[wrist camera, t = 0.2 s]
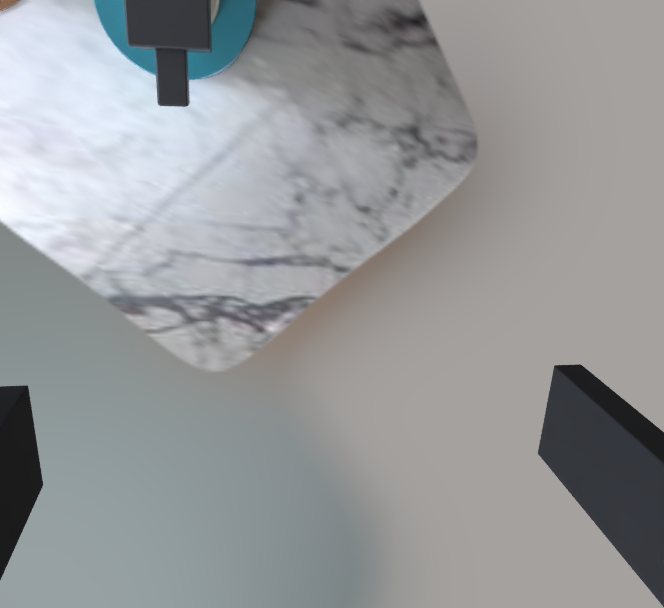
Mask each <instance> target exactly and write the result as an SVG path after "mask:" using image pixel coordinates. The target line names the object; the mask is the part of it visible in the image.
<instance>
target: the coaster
mask: <svg viewBox="0 0 664 608" xmlns="http://www.w3.org/2000/svg"><path fill="white" fill-rule="evenodd" d="M19 1H20V0H0V11H3V10H5V9H7V8H9V7H11V6H13V5H14V4H16V3H17V2H19Z"/></svg>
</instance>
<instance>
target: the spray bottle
mask: <svg viewBox="0 0 664 608" xmlns="http://www.w3.org/2000/svg"><path fill="white" fill-rule="evenodd" d="M256 1H257V0H94V4H95V8H96V11H97V14H98V17H99V19H100V22H101V24H102V26H103V28H104V30H105V32H106V34H107V35H108V37H109V38H110V40H111V41H112V43H113V44H114V45H115V46H116V48H117V49H118V50H119V51H120V52H121V53H122V54H123V55H124V56H125V57H126V58H127V59H129V60H130V61H131V62H132V63H134V64H135V65H137V66H138V67H139V68H141V69H143V70H145V71H147V72H149V73H151V74H154V75H156V81H157V98H158V105H160V106H183V107H186V106H188V105H189V80H195V79H202V78H208V77H211V76H214V75H216V74H219V73H221V72H222V71H224V70H225V69H227V68H228V67H229V66H230V65H231V64H232V63H233V62H234V61H235V60H236V59H237V57H238V56H239V54H240V53H241V51H242V49H243V47H244V46H245V44H246V42H247V40H248V38H249V35H250V33H251V30H252V27H253V24H254V19H255V14H256Z"/></svg>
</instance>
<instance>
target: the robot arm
mask: <svg viewBox="0 0 664 608" xmlns="http://www.w3.org/2000/svg"><path fill="white" fill-rule="evenodd" d="M538 454H539V455H540V456H541V458H542V459H543V460H544V461H545V463H546V464H547V465H548V466H549V468H550V469H551V470H552V471H553V472H554V474H555V475H556V476H557V477H558V479H559V480H560V481H561V482H562V483H563V485H564V486H565V487H566V488H567V489H568V491H569V492H570V493H571V494H572V496H573V497H574V498H575V499H576V501H577V502H578V503H579V504H580V505H581V507H582V508H583V509H584V510H585V511H586V513H587V514H588V515H589V516H590V518H591V519H592V520H593V521H594V522H595V524H596V525H597V526H598V527H599V528H600V530H601V531H602V532H603V533H604V535H605V536H606V537H607V538H608V539H609V541H610V542H611V543H612V544H613V546H614V547H615V548H616V549H617V550H618V552H619V553H620V554H621V555H622V557H623V558H624V559H625V560H626V561H627V563H628V564H629V565H630V566H631V567H632V569H633V570H634V571H635V572H636V574H637V575H638V576H639V577H640V579H641V580H642V581H643V582H644V583H645V585H646V586H647V587H648V588H649V589H650V591H651V592H652V593H653V594H654V595H655V597H656V598H657V599H658V600H659V602H660V603H661V604H662V605H663V607H664V432H663V431H661V430H660V429H659V428H658V427H656V426H655V425H654V424H653V423H651V422H650V421H649V420H648V419H647V418H645V417H644V416H643V415H642V414H641V413H639V412H638V411H637V410H636V409H634V408H633V407H632V406H631V405H630V404H628V403H627V402H626V401H625V400H623V399H622V398H621V397H620V396H619V395H617V394H616V393H615V392H614V391H612V390H611V389H610V388H609V387H607V386H606V385H605V384H604V383H603V382H601V381H600V380H599V379H598V378H597V377H595V376H594V375H593V374H592V373H591V372H589V371H588V370H587V369H585V368H584V367H583V366H582V365H557V366H554V371H553V376H552V381H551V387H550V392H549V397H548V402H547V408H546V413H545V418H544V424H543V429H542V434H541V440H540V445H539V450H538ZM42 486H43V481H42V475H41V468H40V462H39V455H38V449H37V442H36V435H35V429H34V422H33V416H32V409H31V403H30V397H29V390H28V386H6V387H5V386H4V387H0V579H1V577H2V575H3V573H4V570H5V568H6V566H7V564H8V562H9V559H10V557H11V555H12V553H13V551H14V548H15V546H16V544H17V542H18V539H19V537H20V535H21V533H22V531H23V528H24V526H25V524H26V522H27V520H28V517H29V515H30V513H31V511H32V508H33V506H34V504H35V502H36V500H37V497H38V495H39V493H40V491H41V488H42Z"/></svg>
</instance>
